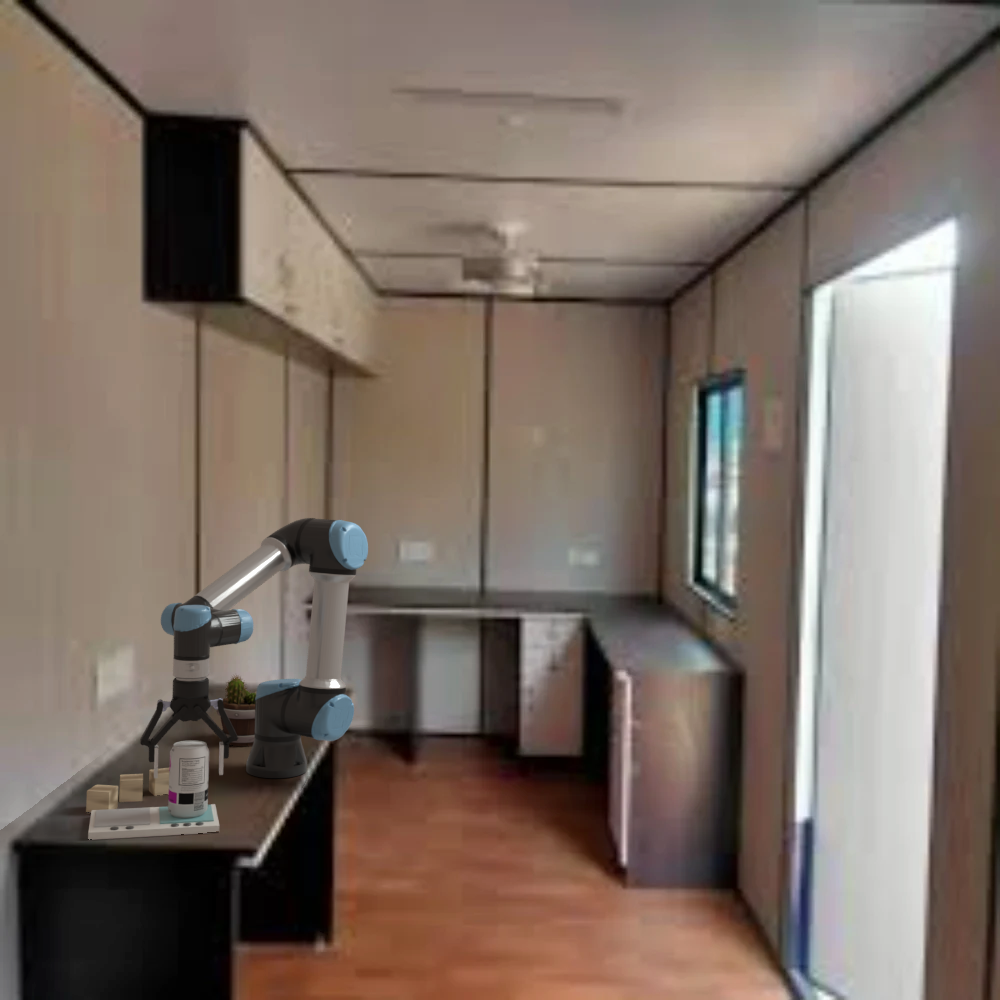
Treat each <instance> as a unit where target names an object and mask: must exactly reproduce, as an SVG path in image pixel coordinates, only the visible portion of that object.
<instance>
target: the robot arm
mask: <svg viewBox="0 0 1000 1000" xmlns="http://www.w3.org/2000/svg"><path fill="white" fill-rule="evenodd" d="M368 554H369V544H368V538H367V536H366V534H365V532H364V531H363V529H362V528H361V526H360V525H359V524H357V523H355V522H351V521H346V520H343V519H337V520H336V519H327V518H326V519H325V518H323V519H322V518H314V517H304V518H300V519H298V520H294V521H292V522H289V523H288V524H286V525H284V526H282V527H280V528H278V529H277V530H276V531H274V532H272V533H271V534H270V535H268V536H267V537H265V538H264V539H263V540H262V541H261V542H260V547H259V548H257V549H256V550H255V551H253V552H252V553H251V554H249V555H248V556H246V557H245V558H244V559H242V560H241V561H240V562H239V563H237V564H236V565H235V566H233V567H232V568H230V569H228V571H226V572H225V573H223V574H222V575H221V576H219V577H218V578H217V579H216V580H214V581H213V582H211V583H210V584H209V585H207V586H206V587H205V588H203V589H202V590H200V591H199V592H198V593H196V594H195V595H193V596H192V597H191V598H190V599H188V600H186V601H185V602H184V603H182V602H175V603H169V604H168V605H166V606H165V607H164V608H163V610H162V613H161V615H160V624H161V625H160V626H161V628H162V630H163V631H164V632H165V633H166V634H168V635H169V636H173V660H172V661H173V662H172V664H173V666H172V676H173V677H174V679H173V680H172V697H171V700H170V701H167V700H166V701H165V700H163V699H162V698H161V699H158V700H157V702H156V703H157V704H156V708H155V709H156V710H155V711H154V713H153V714H152V716H151V719H150V720H149V722H148V724H147V726H146V727H145V729H144V732H143V733H142V735H141V737H140V741H139V743H140V745H141V746H146V747H148V761H149V763H153V769H154V778H158V769H159V744H158V743H159V742H160V741H161V740H162V738H164V737H165V735H166V734H167V733H168V732H169V731H170V730H171V728H172V727H173V726H174V725H175V724H177V722H178V721H182V722H189V721H192V722H198V721H200V720H202V721H203V722H204V723H205V724H206V725H207V727H208V728H209V729H210V730H211V731H213V733H215V735H216V736H217V738H218V739H220V741H219V746H218V747H219V750H218V752H219V753H218V774H219V776H223V775H224V759H225V760H226V759H229V757H230V745H229V744H230V743H231V742H233V741H237V740H238V737H237V734H236V732H235V730H234V728H233V726H232V724H231V722H230V720H229V718H228V716H227V714H226V712H225V710H224V705H223V698H222V697H218V698H217V699H210V697H209V696H210V695H209V694H210V687H209V686H210V685H209V682H210V679H209V678H208V676H209V675H210V657H211V655H210V653H211V652H210V651H211V648H214V647H220V646H222V647H223V646H227V645H237V644H240V643H243V642H244V643H245V642H247V641H248V640H249V639H250V638H251V637H252V636H253V633H254V620H253V617H252V616H251V614H250V612H248V611H247V610H245V609H243V608H241V609H240V608H239V609H236V608H233V607H234V606H236V605H237V604H238V603H240V602H241V601H243V599H245V598H247V597H248V596H249V595H250V594H252V593H253V592H254V591H256V590H257V589H258V588H259V587H261V586H262V585H263V584H264V583H266V582H267V581H268V580H270V579H271V578H272V577H273V576H275V575H276V574H278V573H279V572H286V571H288V570H289V569H291V568H292V567H294V566H297V565H303V564H304V565H305V564H306V565H309V566H308V567H309V568H308V573H309V575H310V576H311V577H312V579H313V580H314V583H313V594H312V604H311V613H310V614H311V616H310V625H309V626H310V627H309V637H308V648H307V649H308V650H307V662H306V671H305V672H306V673H305V677H304V678H302V679H300V678H281V679H271V680H267V681H262V682H260V683H259V684H258V685H257V686H256V691H257V692H256V691H255V693H256V698H255V738H254V743H253V746H251V749H250V751H249V754H248V757H247V760H246V768H245V771H246V773H247V774H249V775H251V776H253V777H257V778H258V777H259V778H264V779H287V778H294V777H298V776H301V775H303V774H305V773H306V772H307V770H308V769H307V768H308V760H307V757H306V753H305V749H304V746H303V743H302V737H307V738H311V739H314V740H316V741H327V742H334V741H336V740H339V739H340V738H341V737H343V736H345V733H346V732H347V731H348V730H349V728H350V726H351V724H352V722H353V719H354V714H355V705H354V702H353V700H352V698H351V697H350V696H348V695H347V694H346V692H347V685H346V683H345V682H344V681H343V680H342V670H343V669H342V668H343V658H344V657H343V655H344V645H345V633H346V624H347V623H346V622H347V611H348V600H349V587H350V582H351V581H353V579H354V578H356V576H357V570H358V569H360V568H361V567H363V566H364V564H365V562H366V560H367V559H368ZM211 706H212V707H213V709H214V710H216V711H217V710H218V711H219V714H220V715H219V716H221V717H220V719H221V718H222V720H223V722H224V724H225V726H226V728H227V730H228V732H229V734H230V735H229V736H226V734H225V733H224V732H223V731H222V730H223V729H221V727H219V725H218V724H217V723H216V722H215V721H214V719H212V718H211V716H210V715H209V714H208V713H207V711H208V710H209V709H210V707H211ZM168 708H169V709H171V711H172V712H173V713H172V714H171V715H170V717H169V718H168V720H166V721H165V723H164V724H163V725H162V726H161V727H160V729H158V731H157V732H156V733H155V734H154V735H153V736H152V737H151V735H152V733H153V731H154V730H155V728H156V725H157V724H158V721H159V720H160V719H161V716H162V714H163V712H166V711H167V709H168ZM150 737H151V738H150Z"/></svg>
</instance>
